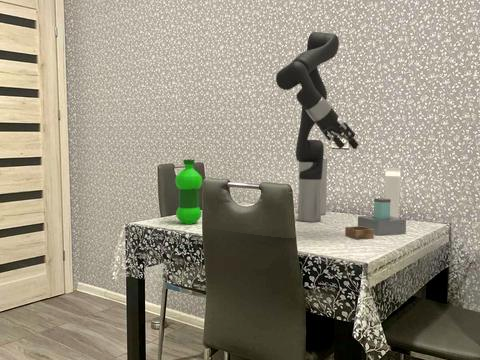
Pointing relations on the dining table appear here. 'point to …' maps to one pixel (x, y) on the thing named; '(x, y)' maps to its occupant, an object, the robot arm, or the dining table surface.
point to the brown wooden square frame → (359, 232)
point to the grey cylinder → (307, 165)
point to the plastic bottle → (188, 193)
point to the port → (383, 225)
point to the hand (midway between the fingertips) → (349, 147)
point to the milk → (393, 189)
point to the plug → (382, 208)
